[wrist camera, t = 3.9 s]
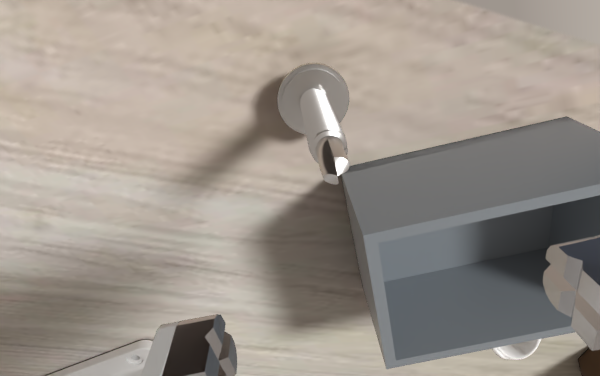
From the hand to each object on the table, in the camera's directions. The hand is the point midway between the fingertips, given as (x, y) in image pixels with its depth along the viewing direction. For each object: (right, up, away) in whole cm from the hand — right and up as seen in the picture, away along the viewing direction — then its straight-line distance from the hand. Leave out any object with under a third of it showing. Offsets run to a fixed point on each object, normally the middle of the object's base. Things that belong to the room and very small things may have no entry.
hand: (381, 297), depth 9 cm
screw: (-1, +10, +18) cm, 20 cm away
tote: (+11, +1, +23) cm, 26 cm away
